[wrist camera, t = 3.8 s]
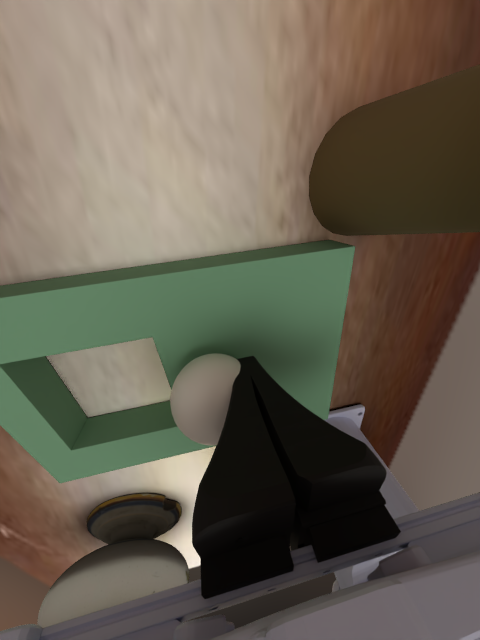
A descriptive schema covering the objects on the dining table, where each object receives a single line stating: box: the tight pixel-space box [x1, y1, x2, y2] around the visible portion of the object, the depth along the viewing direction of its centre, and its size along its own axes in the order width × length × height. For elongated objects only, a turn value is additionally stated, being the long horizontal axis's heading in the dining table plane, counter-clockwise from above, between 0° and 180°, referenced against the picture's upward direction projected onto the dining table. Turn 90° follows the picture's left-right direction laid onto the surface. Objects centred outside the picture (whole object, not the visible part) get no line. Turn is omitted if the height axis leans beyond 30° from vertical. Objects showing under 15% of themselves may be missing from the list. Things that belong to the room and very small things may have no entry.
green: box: [0, 240, 355, 483], centre depth 14 cm, size 14×21×2 cm, turn 96°
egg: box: [170, 353, 241, 445], centre depth 11 cm, size 4×4×4 cm
